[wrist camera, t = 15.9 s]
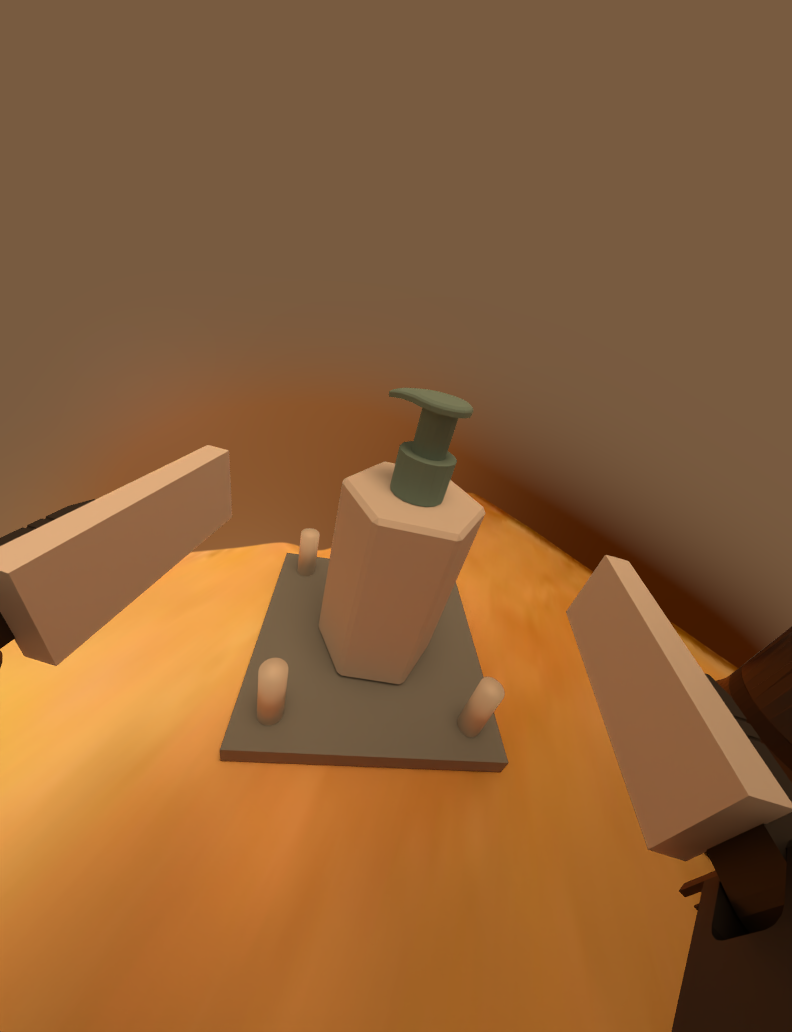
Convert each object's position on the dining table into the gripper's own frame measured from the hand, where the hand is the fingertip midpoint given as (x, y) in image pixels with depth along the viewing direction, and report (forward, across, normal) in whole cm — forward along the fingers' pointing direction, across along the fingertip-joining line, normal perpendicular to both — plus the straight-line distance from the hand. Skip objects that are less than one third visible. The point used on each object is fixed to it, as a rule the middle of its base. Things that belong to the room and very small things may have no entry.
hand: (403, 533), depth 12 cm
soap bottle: (+11, 0, -20) cm, 23 cm away
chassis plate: (+11, 0, -21) cm, 24 cm away
